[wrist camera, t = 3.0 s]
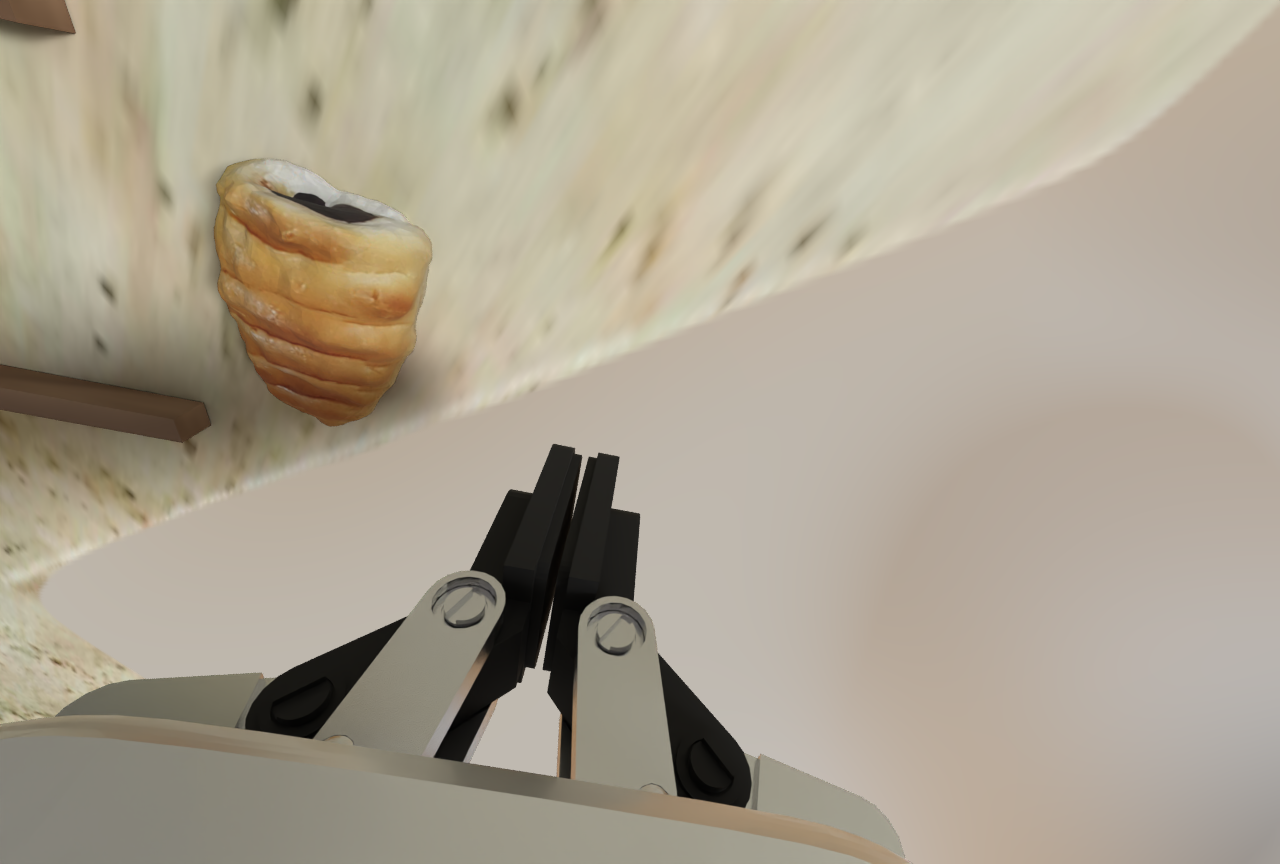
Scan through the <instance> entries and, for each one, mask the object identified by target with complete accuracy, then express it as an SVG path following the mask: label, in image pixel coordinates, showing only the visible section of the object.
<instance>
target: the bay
mask: <svg viewBox="0 0 1280 864" xmlns="http://www.w3.org/2000/svg"><path fill="white" fill-rule="evenodd" d="M0 19H4V20H9V21H13V22H17V23H23V24H28V25H33V26H39V27H44V28H49V29H55V30H60V31H66V32H71V33H75V30H74V27H73V24H72V21H71V18H70V15H69V13H68V10H67V7H66V4H65V1H64V0H0ZM0 410H5V411H11V412H16V413H22V414H27V415H33V416H38V417H44V418H49V419H55V420H60V421H66V422H71V423H77V424H82V425H88V426H93V427H99V428H104V429H110V430H115V431H121V432H126V433H132V434H137V435H143V436H148V437H154V438H159V439H165V440H170V441H176V442H181V443H183V442H184V441H186V440H188V439H189V438H191V437H193V436H194V435H196V434H197V433H199V432H201V431H202V430H204V429H205V428H207V427H209V426H210V425H211V423H210V421H209V418H208V415H207V412H206V409H205V406H204V403H202V402H197V401H191V400H186V399H181V398H175V397H170V396H165V395H159V394H154V393H149V392H143V391H138V390H133V389H127V388H122V387H117V386H111V385H106V384H101V383H95V382H90V381H85V380H79V379H74V378H69V377H63V376H58V375H53V374H47V373H42V372H37V371H31V370H26V369H21V368H15V367H10V366H5V365H0Z"/></svg>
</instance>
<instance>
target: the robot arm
mask: <svg viewBox="0 0 1280 864" xmlns="http://www.w3.org/2000/svg"><path fill="white" fill-rule="evenodd" d="M581 461H582V455H578V454H575V448H572V447H567V446H562V445H557V444H553V445H552V448H551V450H550V452H549V455H548V457H547V460H546V462H545V465H544V467H543V470H542V472H541V474H540V477H539V479H538V482H537V484H536V487H535V489H534V492H533V493H527V492H522V491H517V490H512V489H511V490H509V491H508V493H507V495H506V497H505V499H504V501H503V503H502V505H501V507H500V509H499V511H498V513H497V516H496V518H495V520H494V522H493V524H492V526H491V528H490V530H489V532H488V534H487V536H486V539H485V540H484V543H483V545H482V547H481V549H480V551H479V553H478V555H477V557H476V559H475V561H474V563H473V565H472V567H471V569H470V571H460V572H456V573H453V574H450V575H447V576H445V577H444V578H442V579H440V580H438V581H437V582H436V583H435V584H434V585H433V586H432V587H431V588H430V589H429V590H428V591H427V592H426V593H425V595H424V596H423V597H422V599H421V600H420V601H419V602H418V604H417V605H416V606H415V608H414V609H413V610H412V612H411V613H410V614H409V615H408V616H407V617H405V618H402V619H400V620H398V621H396V622H394V623H391V624H389V625H387V626H385V627H383V628H380V629H378V630H376V631H374V632H372V633H369V634H367V635H365V636H363V637H360V638H358V639H356V640H354V641H351V642H349V643H347V644H345V645H343V646H340V647H338V648H336V649H334V650H331V651H329V652H327V653H325V654H323V655H320V656H318V657H316V658H314V659H312V660H310V661H308V662H305V663H303V664H301V665H298V666H296V667H294V668H292V669H290V670H289V671H287V672H285V673H283V674H282V675H280V676H278V677H277V678H264V677H263V674H262V673H246V674H228V675H211V676H193V677H178V678H177V677H176V678H160V679H141V680H128V681H123V682H118V683H112V684H108V685H106V686H103V687H101V688H99V689H96V690H94V691H91V692H89V693H86V694H85V695H83V696H82V697H80V698H79V699H77V700H75V701H74V702H72V703H71V704H69V705H68V706H66V707H64V708H63V709H62V710H61V711H60V712H59V713H58V714H57V715H56V716H55V717H46V718H38V719H31V720H25V721H18V722H11V723H4V724H0V864H913V863H911V862H910V861H908V860H906V859H905V855H904V852H903V849H902V846H901V842H900V839H899V836H898V835H897V833H896V831H895V830H894V828H893V826H892V825H891V823H890V821H889V820H888V819H887V817H886V816H885V815H884V814H882V812H881V811H880V810H879V809H878V808H877V807H876V806H875V805H873V804H872V803H870V802H869V801H867V800H865V799H864V798H862V797H860V796H858V795H856V794H854V793H851V792H849V791H846V790H844V789H842V788H839V787H837V786H835V785H832V784H830V783H828V782H825V781H823V780H821V779H818V778H816V777H813V776H811V775H809V774H807V773H804V772H802V771H799V770H797V769H795V768H793V767H790V766H788V765H786V764H783V763H781V762H779V761H776V760H774V759H771V758H769V757H767V756H764V755H762V754H760V756H759V757H758V758H755V757H753V756H751V755H748V754H746V753H744V752H743V751H742V749H741V748H740V747H739V745H738V743H737V742H736V741H735V740H734V738H733V737H732V736H731V735H730V734H729V733H728V731H727V730H725V728H724V727H723V726H722V725H721V724H720V722H719V721H718V720H717V719H716V718H715V717H714V716H713V714H712V713H711V712H710V711H709V710H708V709H707V708H706V707H705V705H704V704H703V703H702V702H701V701H700V700H699V699H698V698H697V696H696V695H695V694H694V693H693V692H692V691H691V690H690V689H689V688H688V686H687V685H686V684H685V683H684V682H683V681H682V680H681V678H680V677H679V676H678V675H677V674H676V673H675V672H674V671H673V669H672V668H671V667H670V666H669V665H668V664H667V663H666V661H665V660H664V659H663V658H662V657H661V656H660V655H659V654H658V651H657V643H656V636H655V629H654V626H653V623H652V619H651V618H650V617H649V615H648V613H647V612H646V610H645V609H643V608H642V607H641V606H640V605H638V604H637V603H636V602H634V588H635V575H636V562H637V550H638V538H639V525H640V514H639V513H633V512H628V511H623V510H617V509H612V508H611V506H612V500H613V494H614V488H615V482H616V476H617V470H618V464H619V457H618V456H613V455H608V454H603V453H598V457H597V458H593V457H589V458H588V462H587V465H586V469H585V473H584V477H583V480H582V484H581V488H580V492H579V495H578V499H577V503H576V507H575V511H574V514H573V510H574V503H575V498H576V491H577V486H578V480H579V473H580V467H581ZM572 516H573V518H572ZM553 598H554V600H553ZM552 602H553V606H552ZM551 606H552V613H551V620H550V626H549V632H548V638H547V645H546V651H545V658H544V664H543V670H547V671H551V673H550V679H549V685H548V691H547V693H548V694H549V696H550V697H551V699H552V700H553V702H554V703H555V705H556V706H557V708H558V709H559V711H560V712H561V714H560V719H559V736H558V756H557V776H556V777H553V776H547V775H541V774H534V773H528V772H521V771H515V770H509V769H502V768H496V767H490V766H483V765H477V764H470V761H471V759H472V756H473V754H474V752H475V750H476V748H477V746H478V744H479V742H480V740H481V738H482V735H483V733H484V731H485V729H486V727H487V725H488V723H489V720H490V718H491V716H492V714H493V712H494V710H495V707H496V704H497V700H498V698H500V697H501V696H503V695H504V694H506V693H507V692H509V691H511V690H512V689H514V688H515V687H516V685H517V682H518V683H521V682H522V678H523V675H524V671H525V668H526V667H529V668H535V666H536V663H537V659H538V655H539V652H540V648H541V644H542V640H543V636H544V632H545V629H546V625H547V621H548V617H549V613H550V610H551Z"/></svg>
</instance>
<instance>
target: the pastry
mask: <svg viewBox="0 0 1280 864" xmlns="http://www.w3.org/2000/svg"><path fill="white" fill-rule="evenodd" d="M216 187H217V192H218V194H219V196H220V206H219V210H218V214H217V216H216V222H215V226H214V239H215V244H216V251H217V254H218V257H219V260H220V266H221V271H220V276H219V279H218V283H217V284H218V291H219V293H220V295H221V298H222V299H223V300H224V301H225V302H226V303H227V306H228V309H229V312H230V314H231V316H232V317H233V318H234V319H235V320H236V322H237V323H238V328H239V331H240V334H241V338H242V339H243V340H244V341H245V344H246V351H247V354H248V356H249V358H250V360H251V361H252V362H253V364H254V367H255V370H256V371H257V373H258V374H259V375H260V376H261V378H262V379H263V381H264V382H265V383H266V384H267V388H268V390H269V391H270V393H272V394H273V395H274V396H275V397H276V398H278V399H279V400H281V401H282V402H284V403H286V404H288V405H290V406H292V407H294V408H296V409H298V410H300V411H301V412H304V413H307V414H310V415H312V416H314V417H316V418H317V419H318V420H319V421H320V422H322V423H323V424H325V425H327V426H339V425H343V424H345V423H347V422H351V421H355V420H359V419H361V418H363V417H366V416H368V415H369V414H371V413H372V411H373V410H374V409H375V407H376V405H377V403H378V401H379V399H380V398H381V397H382V396H383V394H384V393H385V392H386V391H387V390H388V389H389V388H390V387H391V386H392V385H393V384H394V383H395V381H396V378H397V376H398V373H399V371H400V368H401V366H402V364H403V363H404V361H405V359H406V357H407V356H408V355H410V354H411V353H412V352H413V349H414V347H415V343H416V337H417V335H416V329H415V325H416V320H417V315H418V312H419V308H420V307H421V305H422V303H423V299H424V296H425V292H426V286H427V276H428V272H429V264H430V262H431V260H432V243H431V241H430V239H429V238H428V236H427V235H426V233H425V232H424V230H422V229H421V228H419V227H418V226H414V225H412V224H411V223H410V222H409V221H408V220H407V217H405V216H404V215H403V214H402V213H400V212H399V211H397V210H395V209H393V208H392V207H390V206H388V205H386V204H384V203H382V202H380V201H376V200H371V199H367V198H365V197H362V196H360V195H357V194H353V193H349V192H344V191H340V190H337V189H336V188H334V187H333V186H331V185H330V184H329V183H327V182H326V180H324V179H323V178H321V177H320V176H318V175H317V174H315V173H313V172H312V171H310V170H308V169H306V168H302V167H300V166H297V165H294V164H292V163H290V162H288V161H285V160H278V159H254V160H248V161H243V162H239V163H235V164H233V165H230V166H228V167H227V168H226V170H225V171H224V173H223V175H222V177H221V178H220V180H219V181H218V183H217V184H216Z"/></svg>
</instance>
